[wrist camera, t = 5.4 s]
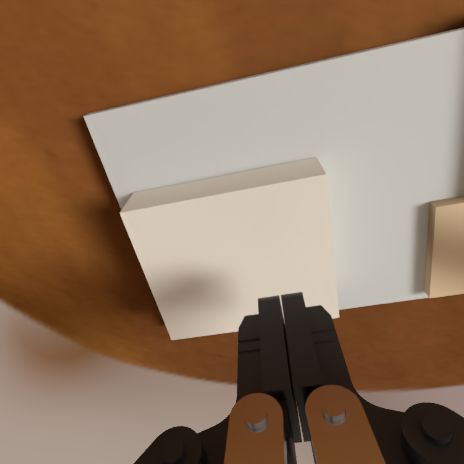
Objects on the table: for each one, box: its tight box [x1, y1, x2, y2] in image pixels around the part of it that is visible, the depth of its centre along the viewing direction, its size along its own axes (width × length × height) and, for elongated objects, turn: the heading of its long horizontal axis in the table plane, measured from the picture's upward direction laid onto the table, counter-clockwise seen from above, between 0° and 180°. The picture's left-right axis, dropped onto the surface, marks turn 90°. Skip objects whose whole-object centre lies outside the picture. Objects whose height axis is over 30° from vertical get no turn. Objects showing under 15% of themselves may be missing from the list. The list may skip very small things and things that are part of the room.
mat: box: [83, 27, 464, 310], centre depth 16 cm, size 12×18×1 cm, turn 102°
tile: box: [120, 157, 339, 340], centre depth 16 cm, size 7×2×8 cm
